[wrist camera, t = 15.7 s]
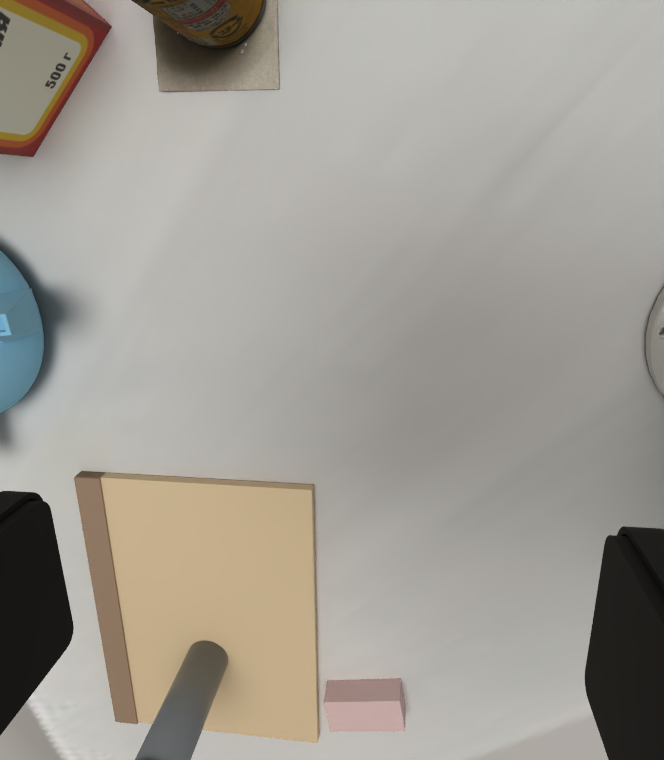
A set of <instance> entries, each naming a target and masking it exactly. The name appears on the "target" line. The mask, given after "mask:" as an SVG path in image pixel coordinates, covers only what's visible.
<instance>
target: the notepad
mask: <svg viewBox="0 0 664 760" xmlns="http://www.w3.org/2000/svg"><path fill="white" fill-rule="evenodd" d="M74 480H75V486H76V492H77V498H78V504H79V509H80V515H81V521H82V527H83V533H84V539H85V545H86V551H87V556H88V562H89V568H90V574H91V580H92V586H93V592H94V598H95V604H96V609H97V615H98V621H99V627H100V633H101V639H102V645H103V651H104V657H105V662H106V668H107V674H108V680H109V686H110V692H111V698H112V704H113V710H114V715H115V721H116V722H123V723H132V724H137V723H138V722H142V723H150V724H153V722H154V720H155V718H156V716H157V714H158V712H159V710H160V708H161V706H162V704H163V702H164V700H165V697H166V695H167V693H168V691H169V689H170V687H171V685H172V683H173V681H174V679H175V677H176V675H177V673H178V671H179V669H180V667H181V665H182V663H183V661H184V659H185V657H186V654H187V652H188V650H189V648H190V647H191V645H192V644H194V643H195V642H198V641H202V640H207V641H212V642H214V643H216V644H218V645H220V646H221V647H222V648H223V649H224V650H225V652H226V653H227V656H228V665H227V667H226V670H225V673H224V675H223V678H222V680H221V683H220V685H219V688H218V691H217V693H216V696H215V698H214V701H213V703H212V706H211V708H210V711H209V714H208V716H207V719H206V721H205V724H204V726H203V729H202V730H209V731H218V732H226V733H235V734H243V735H252V736H260V737H269V738H277V739H286V740H294V741H303V742H311V743H318V739H319V705H318V660H317V615H316V571H315V526H314V485H310V484H293V483H276V482H258V481H241V480H223V479H206V478H189V477H171V476H154V475H137V474H119V473H102V472H85V471H81V472H80V473H79V474H78V475H76V476H75V477H74Z"/></svg>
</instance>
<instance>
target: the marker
mask: <svg viewBox="0 0 664 760" xmlns="http://www.w3.org/2000/svg"><path fill="white" fill-rule="evenodd" d="M227 665H228V656H227V653H226V652H225V650H224V649H223V648H222V647H221V646H220V645H218V644H216V643H214V642H212V641H207V640H202V641H198V642H195V643H194V644H192V645H191V647H190V648H189V650H188V652H187V654H186V657H185V659H184V661H183V663H182V665H181V667H180V669H179V671H178V673H177V675H176V677H175V679H174V681H173V683H172V685H171V687H170V689H169V691H168V693H167V695H166V697H165V700H164V702H163V704H162V706H161V708H160V710H159V712H158V714H157V716H156V718H155V720H154V722H153V724H152V726H151V728H150V730H149V732H148V734H147V736H146V738H145V740H144V742H143V745H142V747H141V749H140V751H139V753H138V755H137V757H136V759H135V760H191V757H192V754H193V752H194V749H195V747H196V744H197V742H198V739H199V737H200V734H201V731H202V729H203V726H204V724H205V721H206V719H207V716H208V714H209V711H210V708H211V706H212V703H213V701H214V698H215V696H216V693H217V691H218V688H219V685H220V683H221V680H222V678H223V675H224V673H225V670H226V667H227Z"/></svg>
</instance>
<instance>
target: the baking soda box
mask: <svg viewBox="0 0 664 760" xmlns="http://www.w3.org/2000/svg"><path fill="white" fill-rule="evenodd" d="M111 27H112V26H111V25H110V24H109V23H107V22H106V21H105V20H104V19H103V18H102V17H101V16H100V15H99V14H98V13H97V12H96V11H95V10H94V9H92V8H91V7H90V6H89V5H88V4H87V3H86V2H85V1H84V0H0V154H8V155H19V156H29V157H33V156H34V154H35V153H36V151H37V149H38V148H39V146H40V145H41V143H42V141H43V140H44V138H45V136H46V135H47V133H48V131H49V130H50V128H51V126H52V125H53V123H54V121H55V120H56V118H57V116H58V115H59V113H60V111H61V110H62V108H63V106H64V105H65V103H66V101H67V100H68V98H69V96H70V95H71V93H72V92H73V90H74V88H75V87H76V85H77V83H78V82H79V80H80V78H81V77H82V75H83V73H84V72H85V70H86V68H87V67H88V65H89V63H90V62H91V60H92V58H93V57H94V55H95V53H96V52H97V50H98V48H99V47H100V45H101V44H102V42H103V40H104V39H105V37H106V35H107V34H108V32H109V30H110V29H111Z"/></svg>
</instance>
